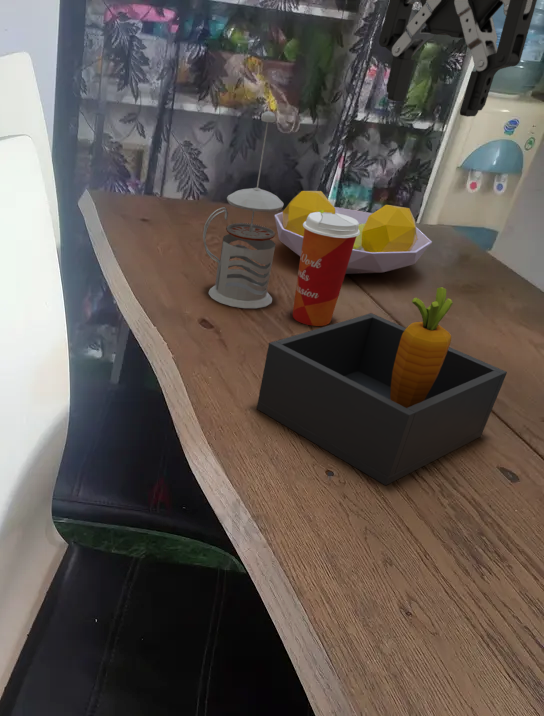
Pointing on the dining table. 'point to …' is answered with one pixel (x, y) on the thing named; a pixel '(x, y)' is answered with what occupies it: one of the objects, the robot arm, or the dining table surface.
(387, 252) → the fruit bowl
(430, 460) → the open dark gray box
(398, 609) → the dining table surface
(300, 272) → the paper cup
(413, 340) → the carrot
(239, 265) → the french press
